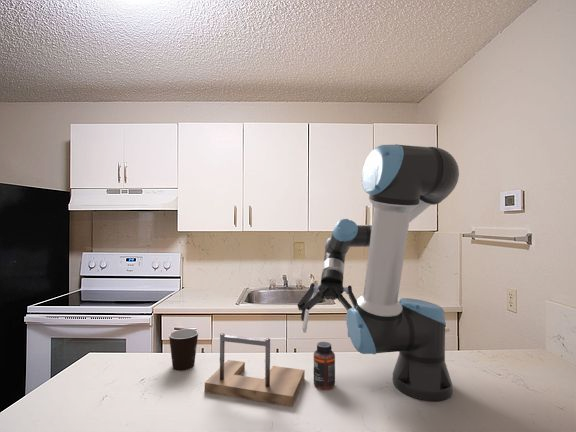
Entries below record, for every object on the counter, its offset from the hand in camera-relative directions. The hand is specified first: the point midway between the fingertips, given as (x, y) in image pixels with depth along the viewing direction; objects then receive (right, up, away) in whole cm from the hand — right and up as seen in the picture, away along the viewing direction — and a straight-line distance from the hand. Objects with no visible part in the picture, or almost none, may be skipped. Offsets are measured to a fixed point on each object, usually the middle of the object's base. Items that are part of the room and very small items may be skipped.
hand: (326, 332), depth 94 cm
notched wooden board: (-20, -11, -8) cm, 25 cm away
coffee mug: (-44, -12, +4) cm, 46 cm away
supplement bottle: (-2, -12, -8) cm, 14 cm away
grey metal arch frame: (-23, -9, -11) cm, 27 cm away
